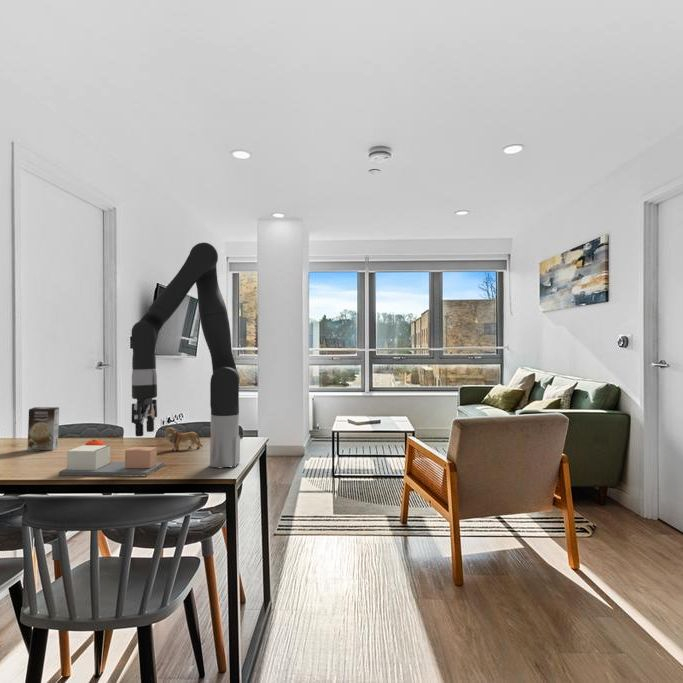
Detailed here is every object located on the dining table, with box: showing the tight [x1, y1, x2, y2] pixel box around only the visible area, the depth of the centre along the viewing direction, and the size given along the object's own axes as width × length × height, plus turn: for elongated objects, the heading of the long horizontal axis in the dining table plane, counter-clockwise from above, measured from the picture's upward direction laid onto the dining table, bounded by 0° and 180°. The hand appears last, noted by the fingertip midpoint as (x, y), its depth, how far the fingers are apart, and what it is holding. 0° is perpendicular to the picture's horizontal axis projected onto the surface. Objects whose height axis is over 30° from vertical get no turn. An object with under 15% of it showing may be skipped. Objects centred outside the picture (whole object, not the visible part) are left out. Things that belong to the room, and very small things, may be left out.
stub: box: [124, 446, 158, 468], centre depth 153 cm, size 8×5×6 cm, turn 90°
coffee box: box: [26, 406, 60, 452], centre depth 185 cm, size 9×6×16 cm
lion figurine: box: [164, 427, 204, 451], centre depth 188 cm, size 15×5×9 cm, turn 122°
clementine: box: [84, 438, 106, 446], centre depth 170 cm, size 8×7×7 cm
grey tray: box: [58, 444, 165, 477], centre depth 153 cm, size 27×14×7 cm, turn 90°
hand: (145, 433), depth 153 cm, fingers open, 8 cm apart
